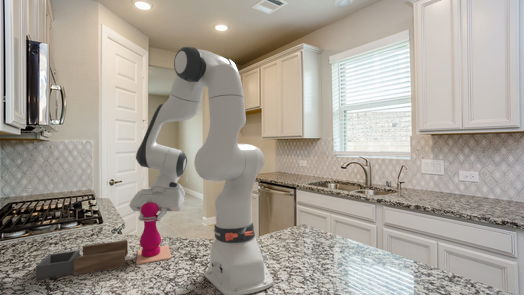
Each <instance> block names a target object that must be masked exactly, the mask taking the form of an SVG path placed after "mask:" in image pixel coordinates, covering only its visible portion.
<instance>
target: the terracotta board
mask: <svg viewBox="0 0 524 295" xmlns="http://www.w3.org/2000/svg"><path fill="white" fill-rule="evenodd" d="M159 247H160V253H159V254H157V255H154V256H149V257H145V256H142V249H143V248H141V249H138V250H137V255H136V256H137V257H136V264H135V265H136V266H138V265H143V263H145V264H149V262H151V263H155V261H157V262H162V261H168V260H172V255H171V251H170V245H163V246H159ZM167 259H168V260H167Z"/></svg>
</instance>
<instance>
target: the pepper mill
mask: <svg viewBox="0 0 524 295" xmlns="http://www.w3.org/2000/svg"><path fill="white" fill-rule="evenodd" d="M147 202H148V203H145V204H144V205H143V206H142V207H141V214H142V215H143V217H142V218H143V221H142V222H143V226H144V228H143V232H142V234H141V236H140V238H139V246H140V247H141V249H142V256H145V257H149V256H154V255H157V254H159V253H160V247H161V246H160V245H161V243H162V236H161V233H160V232H159V231H158V228H157V221H156V220H155V216H156V215H158V214H159V213H158V212H159V211H158V210H159V208H158V205H157V204H156V203H154V202H152V199H151V198H148V199H147Z"/></svg>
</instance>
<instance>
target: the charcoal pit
mask: <svg viewBox="0 0 524 295" xmlns="http://www.w3.org/2000/svg"><path fill="white" fill-rule="evenodd" d="M78 256H81V251H80V249H79V250H78V249H77V250H71V251H65V252H64V251H63V252H57V253H56V252H55V253H51V254H50V253H49V254H47V255H46V256H45V257H44V258H43V259H42V260H41V261H40V262H39V263H38V264H36V266H35V280H36V281H38V280H44V279H51V278H57V277H62V276H69V275H73V273H74V272H75V267H74V258H75V257H78Z"/></svg>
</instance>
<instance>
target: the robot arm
mask: <svg viewBox="0 0 524 295" xmlns="http://www.w3.org/2000/svg"><path fill="white" fill-rule="evenodd" d="M173 60H174V61H173V68H174V71H175V73H176V74H175V77H174V80H173V81H172V82H173V84H172V86H171V89H170V90H171V91H170V93H169V97H168V99H167V100H166V102H164V103H160V104H159V105H158V106H157V108H156V109H155V111H154V113H153V115H152V117H151V120H150V122H149V124H148V126H147V130H146V132H145V134H144V137H143V139H142V141H141V144H140V145H139V147H138V149H137V151H136V154H135V160H136V161H137V163H138V164H139V166H140V167H141V168H142V167H143V168H149V169H154V170H158V175H157V176H156V177H155V178H154V180H153V182H152V183H151V186H150V188H142V189H141V190H139V191H137V193H136V194H135V195H134V197H132V199H131V200H130V202H129V207H130V209H131V210H132V211H133V212H139V217H138V220H139V222H144V221H143V218H142V217H143V215H142V214H141V207H142V206H143V205H144V204H145V203H148V202H147V199H148V198H151V199H152V202H154V203H156V204H157V205H158V208H159V210H158V212H159V213H157V214H156V216H155V220H156V222H161V219H162V218H163V217H164V216H165V215H166V214H167V213H168V212H180V211H181V210H182V209H183V206H184V203H185V197H186V192H185V190H184V188H183V186H182V185H181V184H180V183H179V182H178V181H179V180H180V178H181V177H182V175H184V172H185V169H186V167H187V164H188V157H187V156H186V155H187V154H186V153H185V152H184V151H183V150H181V149H178V148H173V147H169V146H167V145H162V144H159V143H157V141H156V140H157V139H158V136H159V133H160V131H161V129H162V128H163V127H162V126H163V125H164V124H166V123H171V122H182V121H187V120H191V119H192V118H194V117H195V116H196V115H197V114H198V111H199V108H200V105H201V103H202V98H203V93H204V91H205V89H206V88H207V92H208V93H207V96H208V108H209V129H208V133H207V137H206V139H205V142H204V143H203V145H202V146H200V148H199V149H198V150H197V152H196V153H195V156H194V169H195V171H196V174H197V175H198V176H199V178H201V179H203V180H206V181H211V182H212V181H214V182H222V181H225V182H224V185H223V188H222V190H221V192H220V193H219V194H218V195H217V196H216V198H215V201H214V202H215V203H214V205H215V206H214V207H215V208H214V210H215V211H214V212H215V224H214V229H213V232H214V238H215V239H214V241H213V242H212V243H211V245H210V247H209V269H206V271H204V274H203V275H204V277H205V278H206V279H207V280H208V281H209V282H210V283H211V284H212V285H213V286H214V287H215V288H216V289H217V290H218V291H220V292H221V293H222V294H223V295H249V294H250V295H251V294H254V293H257V292H261V291H264V290H266V289H269V288H271V287H272V286H273V285H274V280H273V277H272V275H271V273H270V271H269V270H268V267H267V266H266V263H265V262H267V261H268V256H267V253H266V252H263V253H262V252H261V251H262V245H261V244H260V245H259V244H258V241H257V238H256V237H255V236H256V234H255V227H254V223H253V219H252V218H253V217H252V215H253V214H252V213H253V212H252V205H253V204H252V200H253V199H252V198H253V191H254V188H255V183H256V179H257V177H258V175H259V174H260V172H261V171H262V169H263V167H264V165H265V156H264V153H263V151H262V150H261V149H260V148H259V147H258V146H255V145H252V144H250V143H238V141H239V140H238V139H239V134H240V131H241V129H243V128H244V127H245V125H246V122H247V118H246V117H247V116H246V115H247V114H246V105H245V103H246V102H245V94H244V93H245V92H244V87H243V83H242V78H241V76H240V72H239V69H238V68H237V65H236V64H235V62H234V61H232V60H231V59H230V58H228V57H227V56H224V57H223V56H221V55H220V54H217V53H213V51H209V50H205V49H199V48H196V47H195V46H193V47H192V46H184V47H181V48H180V49H178V51H177V53H176V54H175V56H174V59H173Z"/></svg>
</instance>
